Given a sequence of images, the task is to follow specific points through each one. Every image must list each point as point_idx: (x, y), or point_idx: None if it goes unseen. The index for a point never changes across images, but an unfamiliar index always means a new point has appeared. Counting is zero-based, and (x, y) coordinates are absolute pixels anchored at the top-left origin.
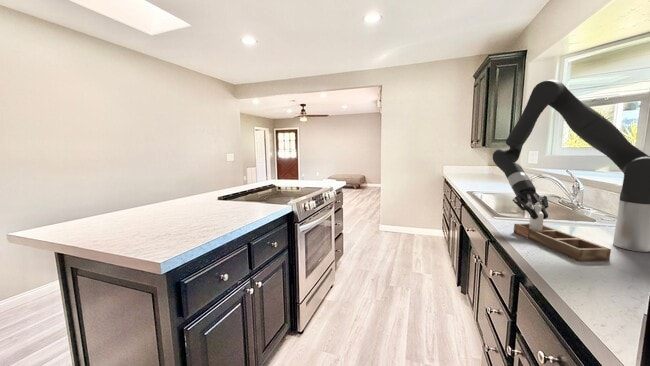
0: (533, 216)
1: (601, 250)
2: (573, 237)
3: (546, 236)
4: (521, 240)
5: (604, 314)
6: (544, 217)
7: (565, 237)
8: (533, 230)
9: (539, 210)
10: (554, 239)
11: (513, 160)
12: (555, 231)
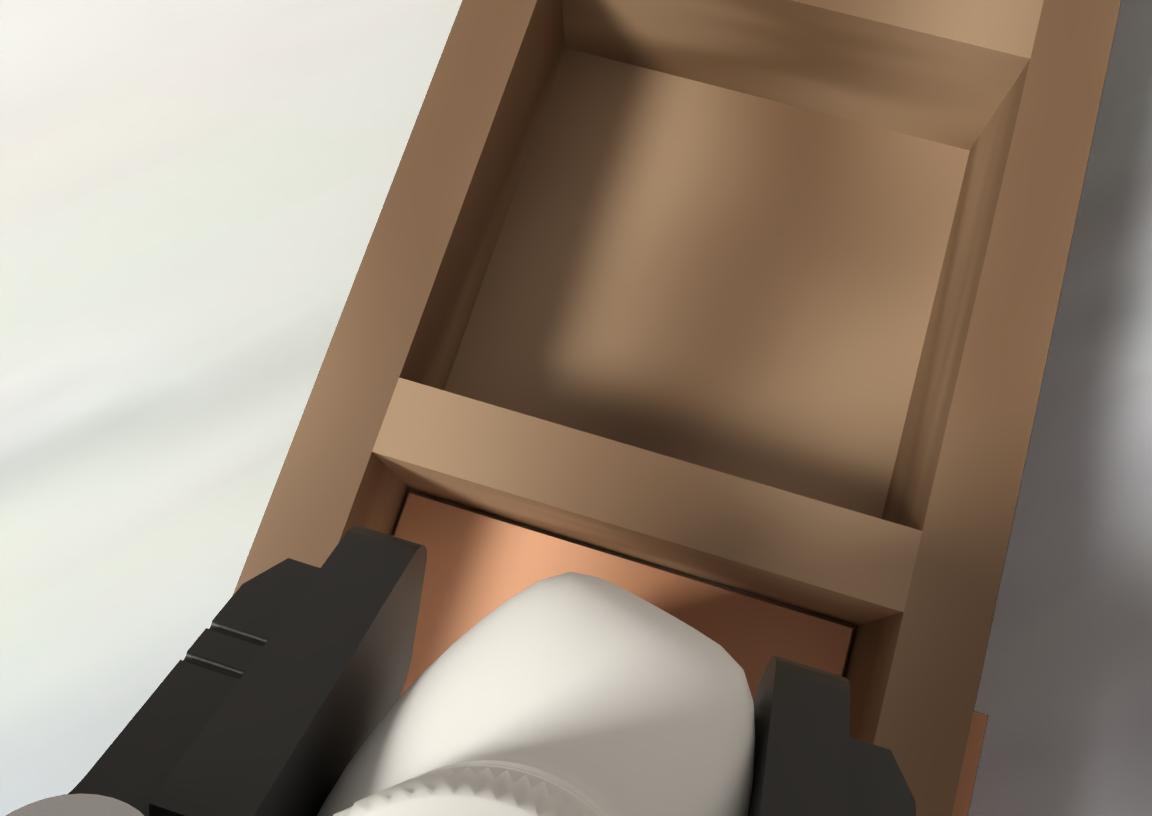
0: (880, 784)
1: None
2: (535, 3)
3: (1073, 196)
4: (1123, 705)
5: None
6: (403, 641)
7: (490, 189)
8: (926, 618)
9: (557, 775)
10: (1096, 24)
11: None
12: (431, 388)
